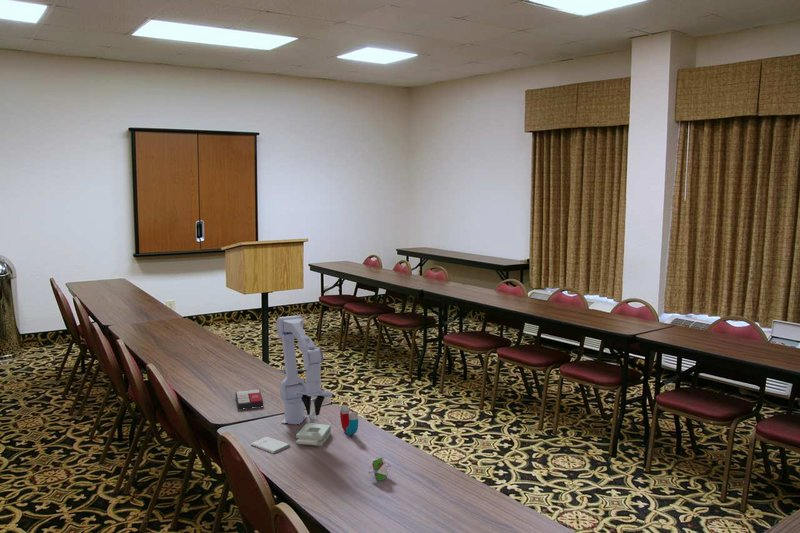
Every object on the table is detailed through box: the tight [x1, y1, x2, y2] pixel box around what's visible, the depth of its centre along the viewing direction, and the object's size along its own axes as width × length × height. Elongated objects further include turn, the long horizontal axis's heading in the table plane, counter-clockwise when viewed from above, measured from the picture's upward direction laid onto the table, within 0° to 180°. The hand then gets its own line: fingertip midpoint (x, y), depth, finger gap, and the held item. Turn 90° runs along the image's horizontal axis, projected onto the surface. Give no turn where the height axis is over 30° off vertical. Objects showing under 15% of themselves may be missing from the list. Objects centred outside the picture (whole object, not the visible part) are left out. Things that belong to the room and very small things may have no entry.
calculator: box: [235, 389, 264, 410], centre depth 280 cm, size 11×4×15 cm
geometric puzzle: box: [368, 457, 392, 482], centre depth 209 cm, size 7×7×8 cm
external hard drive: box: [250, 436, 291, 454], centre depth 235 cm, size 2×8×12 cm
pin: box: [308, 397, 318, 424], centre depth 240 cm, size 3×3×9 cm
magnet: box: [339, 404, 359, 436], centre depth 247 cm, size 12×3×10 cm, turn 29°
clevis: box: [295, 422, 332, 447], centre depth 241 cm, size 14×10×4 cm
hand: (313, 414), depth 240 cm, fingers closed on pin, 3 cm apart
